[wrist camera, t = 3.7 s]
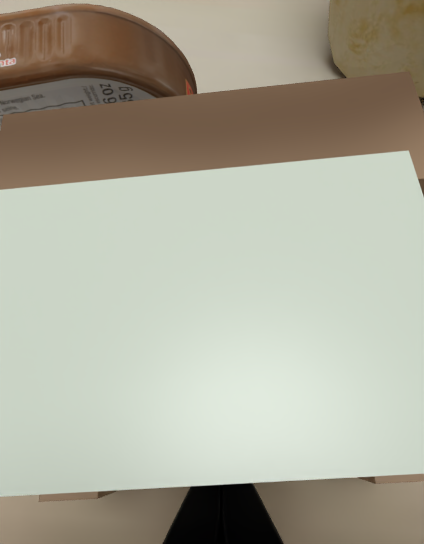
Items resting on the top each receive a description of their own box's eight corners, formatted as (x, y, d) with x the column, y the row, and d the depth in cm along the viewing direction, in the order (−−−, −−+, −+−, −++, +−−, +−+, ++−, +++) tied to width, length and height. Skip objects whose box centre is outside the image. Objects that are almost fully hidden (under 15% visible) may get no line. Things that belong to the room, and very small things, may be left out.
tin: (204, 147, 20) (179, -33, 13) (213, 198, 19) (190, 32, 11) (-77, 193, 21) (-272, 45, 13) (-88, 246, 19) (-311, 116, 12)
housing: (375, 466, 14) (567, 506, 6) (104, 482, 14) (-86, 538, 6) (331, 246, 17) (409, 71, 9) (115, 265, 18) (3, 114, 10)
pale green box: (322, 450, 14) (522, 478, 4) (151, 460, 14) (-75, 509, 4) (304, 336, 16) (413, 145, 6) (152, 347, 16) (-9, 186, 6)
